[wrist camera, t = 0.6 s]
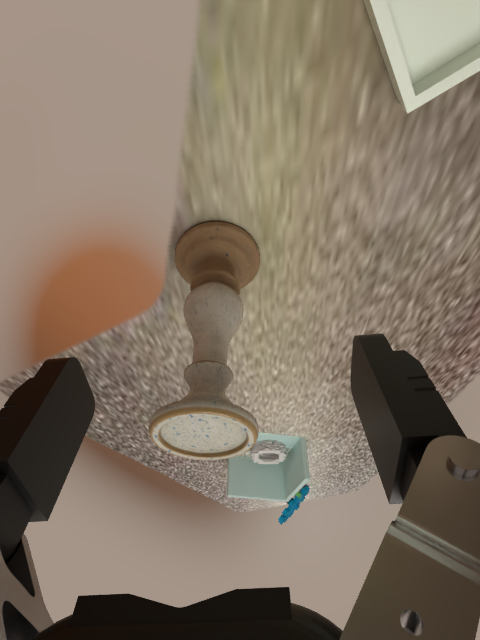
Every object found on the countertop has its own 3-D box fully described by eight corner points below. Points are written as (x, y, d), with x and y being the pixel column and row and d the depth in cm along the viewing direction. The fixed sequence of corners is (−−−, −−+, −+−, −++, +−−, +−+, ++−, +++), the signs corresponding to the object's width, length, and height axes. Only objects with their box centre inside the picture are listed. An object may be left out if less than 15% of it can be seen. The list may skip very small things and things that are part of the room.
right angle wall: (305, 437, 70) (310, 479, 65) (285, 463, 79) (288, 501, 74) (241, 430, 68) (241, 472, 63) (228, 457, 77) (227, 496, 72)
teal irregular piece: (305, 503, 92) (279, 533, 86) (286, 485, 95) (259, 513, 89) (317, 480, 85) (289, 511, 79) (296, 461, 88) (268, 490, 82)
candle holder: (210, 298, 45) (195, 473, 31) (158, 247, 39) (110, 431, 25) (275, 265, 41) (291, 447, 27) (226, 204, 36) (215, 390, 22)
